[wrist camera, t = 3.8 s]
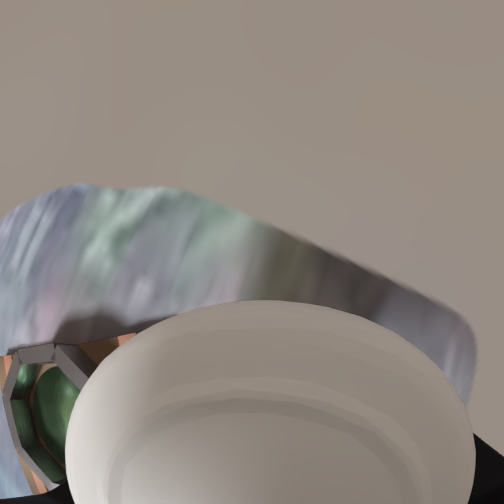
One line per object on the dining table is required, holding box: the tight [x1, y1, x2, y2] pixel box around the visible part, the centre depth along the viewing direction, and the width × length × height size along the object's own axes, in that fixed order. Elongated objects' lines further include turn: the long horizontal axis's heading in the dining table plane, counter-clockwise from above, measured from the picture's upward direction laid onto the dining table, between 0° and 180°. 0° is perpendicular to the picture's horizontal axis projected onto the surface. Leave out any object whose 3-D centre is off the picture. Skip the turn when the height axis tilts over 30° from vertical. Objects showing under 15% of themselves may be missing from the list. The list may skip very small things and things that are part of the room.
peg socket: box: [2, 343, 98, 490], centre depth 13 cm, size 10×10×2 cm
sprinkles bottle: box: [65, 300, 476, 504], centre depth 8 cm, size 5×5×13 cm
